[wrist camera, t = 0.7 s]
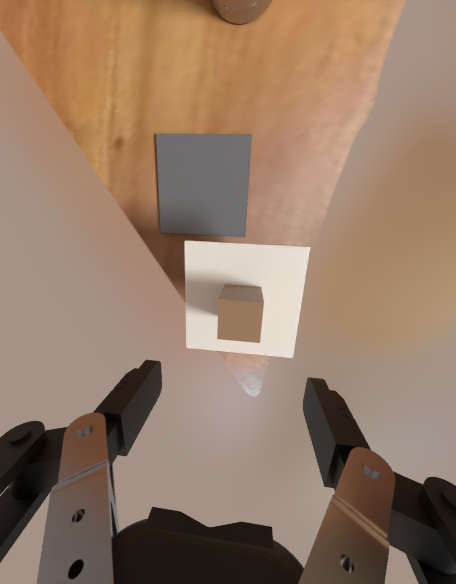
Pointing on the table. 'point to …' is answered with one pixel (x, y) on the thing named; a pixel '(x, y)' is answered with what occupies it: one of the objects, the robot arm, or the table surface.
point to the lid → (244, 296)
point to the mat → (203, 183)
